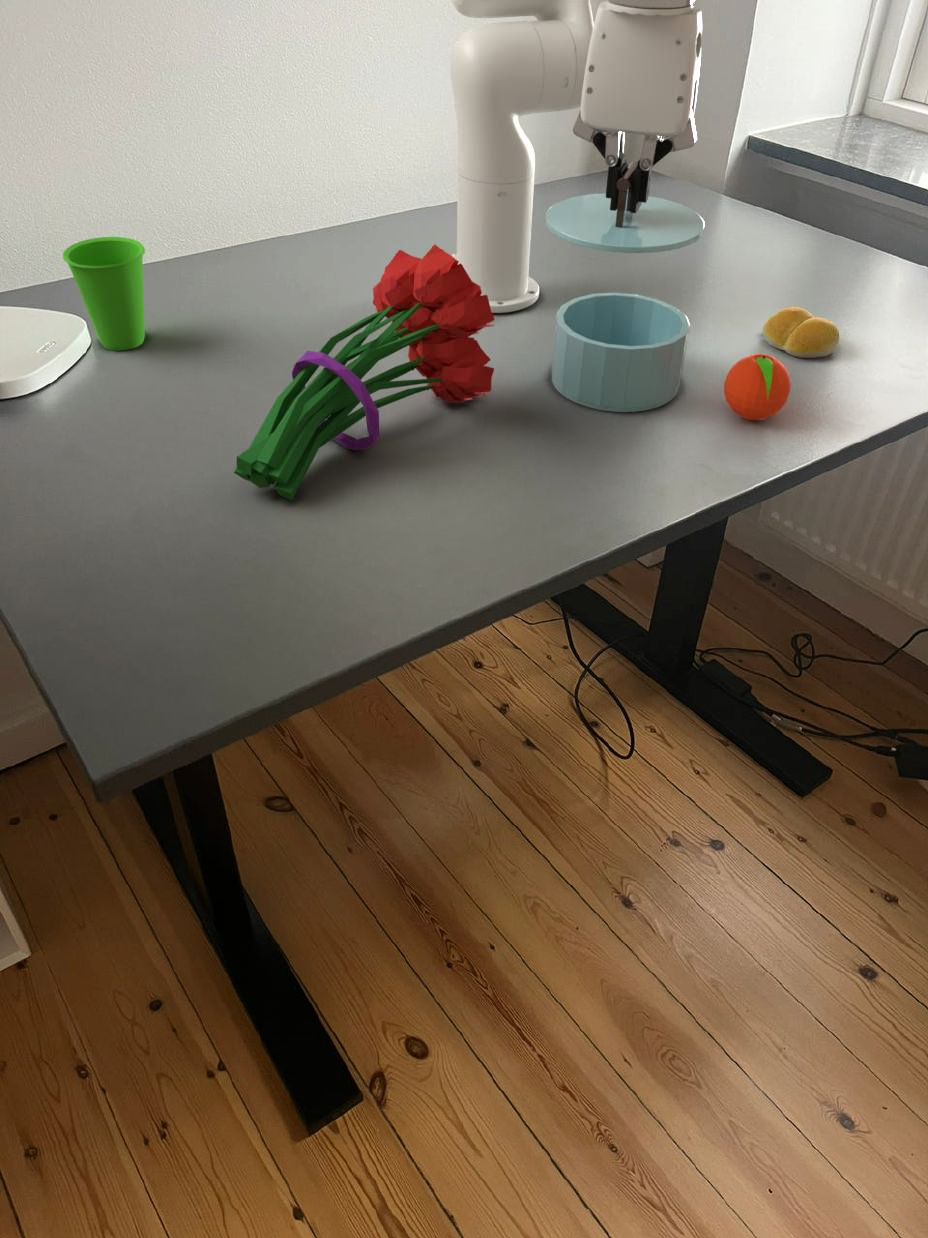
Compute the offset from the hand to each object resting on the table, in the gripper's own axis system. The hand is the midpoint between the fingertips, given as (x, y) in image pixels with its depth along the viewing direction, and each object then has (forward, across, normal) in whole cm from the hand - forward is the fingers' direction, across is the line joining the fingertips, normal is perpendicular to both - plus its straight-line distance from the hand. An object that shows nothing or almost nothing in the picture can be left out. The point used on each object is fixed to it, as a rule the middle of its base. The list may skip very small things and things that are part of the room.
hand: (625, 206), depth 99 cm
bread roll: (+21, -19, -23) cm, 37 cm away
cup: (+21, +58, +6) cm, 62 cm away
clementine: (+22, -16, -2) cm, 27 cm away
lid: (+2, 0, 0) cm, 2 cm away
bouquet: (+21, +21, +17) cm, 35 cm away
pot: (+21, 0, -5) cm, 22 cm away
